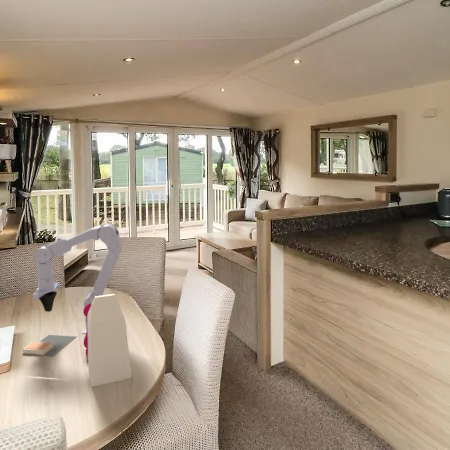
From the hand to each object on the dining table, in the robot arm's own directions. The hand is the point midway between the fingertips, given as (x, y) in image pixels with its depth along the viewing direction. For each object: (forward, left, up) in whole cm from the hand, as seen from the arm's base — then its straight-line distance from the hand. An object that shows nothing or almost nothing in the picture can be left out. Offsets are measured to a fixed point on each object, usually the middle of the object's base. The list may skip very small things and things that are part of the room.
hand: (48, 310), depth 151 cm
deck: (-4, +10, -9) cm, 14 cm away
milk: (-36, +24, -10) cm, 44 cm away
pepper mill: (-25, +12, -10) cm, 30 cm away
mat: (-6, +9, -10) cm, 15 cm away
